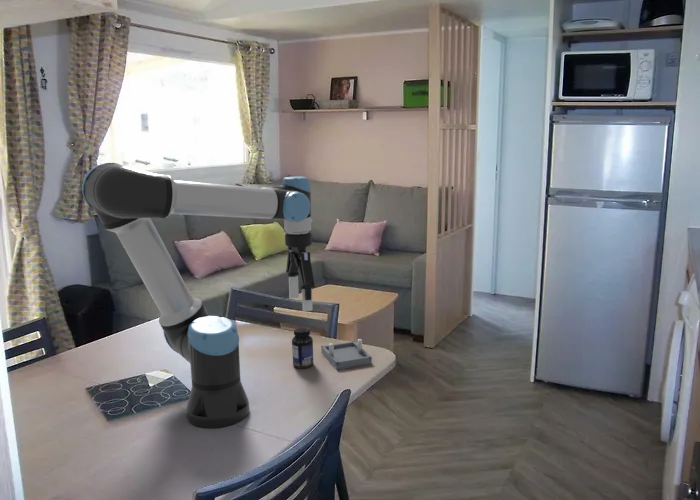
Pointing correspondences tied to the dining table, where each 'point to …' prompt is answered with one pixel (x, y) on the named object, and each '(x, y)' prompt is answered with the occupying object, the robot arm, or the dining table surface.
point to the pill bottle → (302, 348)
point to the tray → (346, 354)
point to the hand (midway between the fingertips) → (300, 304)
